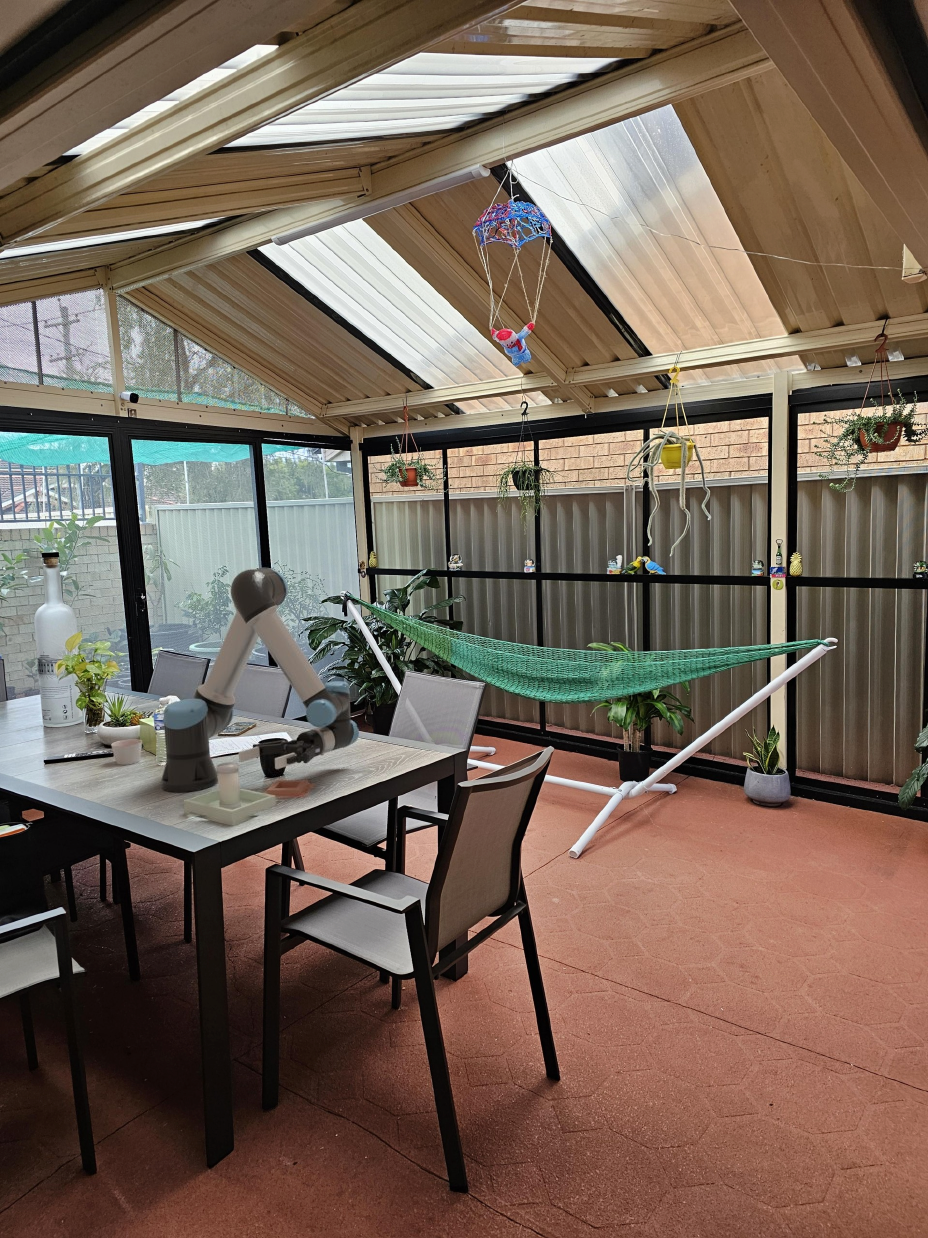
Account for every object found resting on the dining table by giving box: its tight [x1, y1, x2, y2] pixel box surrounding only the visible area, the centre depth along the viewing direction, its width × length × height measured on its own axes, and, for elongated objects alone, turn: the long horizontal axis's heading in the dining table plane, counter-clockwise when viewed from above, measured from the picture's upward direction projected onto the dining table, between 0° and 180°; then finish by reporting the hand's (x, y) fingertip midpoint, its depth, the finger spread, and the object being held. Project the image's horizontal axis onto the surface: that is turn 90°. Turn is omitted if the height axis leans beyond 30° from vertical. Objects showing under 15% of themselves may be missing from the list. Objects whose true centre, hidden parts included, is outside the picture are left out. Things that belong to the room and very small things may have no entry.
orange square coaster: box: [263, 779, 316, 799], centre depth 225 cm, size 12×12×2 cm
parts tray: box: [183, 787, 277, 826], centre depth 211 cm, size 18×14×4 cm
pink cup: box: [110, 738, 143, 766], centre depth 263 cm, size 9×9×6 cm
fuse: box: [216, 761, 241, 810], centre depth 211 cm, size 5×5×11 cm
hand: (257, 760), depth 219 cm, fingers open, 13 cm apart
